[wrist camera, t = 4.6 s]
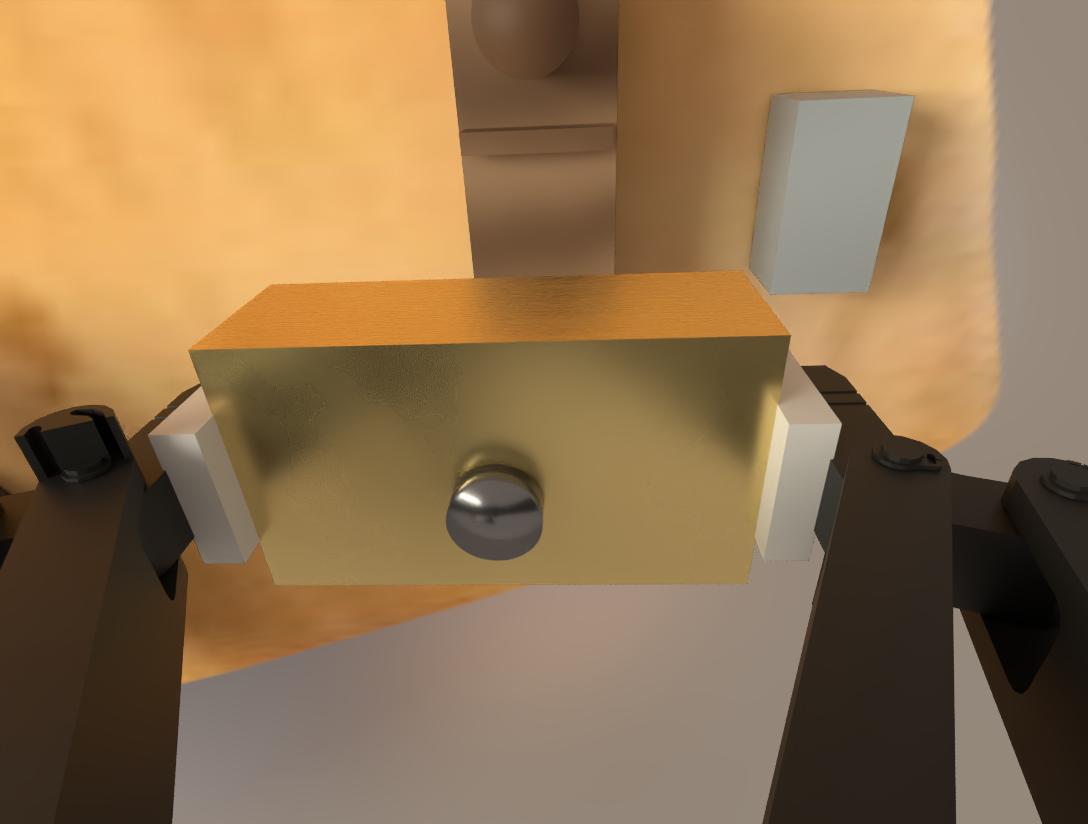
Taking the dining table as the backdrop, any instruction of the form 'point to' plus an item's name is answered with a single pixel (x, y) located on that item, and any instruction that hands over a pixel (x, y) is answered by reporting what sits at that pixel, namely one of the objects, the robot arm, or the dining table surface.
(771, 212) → the block
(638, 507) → the lever cap
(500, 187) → the plane body
